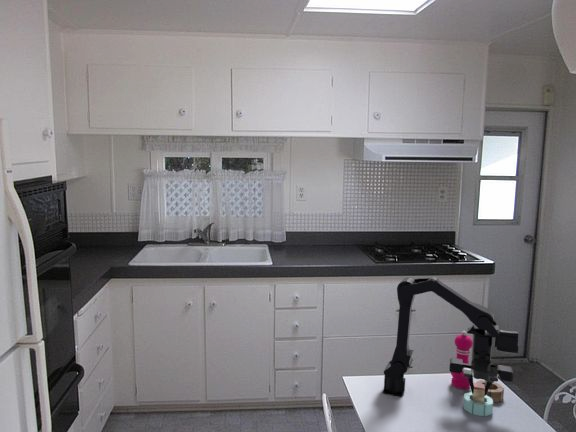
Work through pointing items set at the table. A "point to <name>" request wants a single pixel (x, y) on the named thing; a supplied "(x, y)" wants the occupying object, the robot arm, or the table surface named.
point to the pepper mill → (463, 353)
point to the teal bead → (478, 405)
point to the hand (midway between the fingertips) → (478, 394)
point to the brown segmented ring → (494, 391)
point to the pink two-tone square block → (479, 392)
